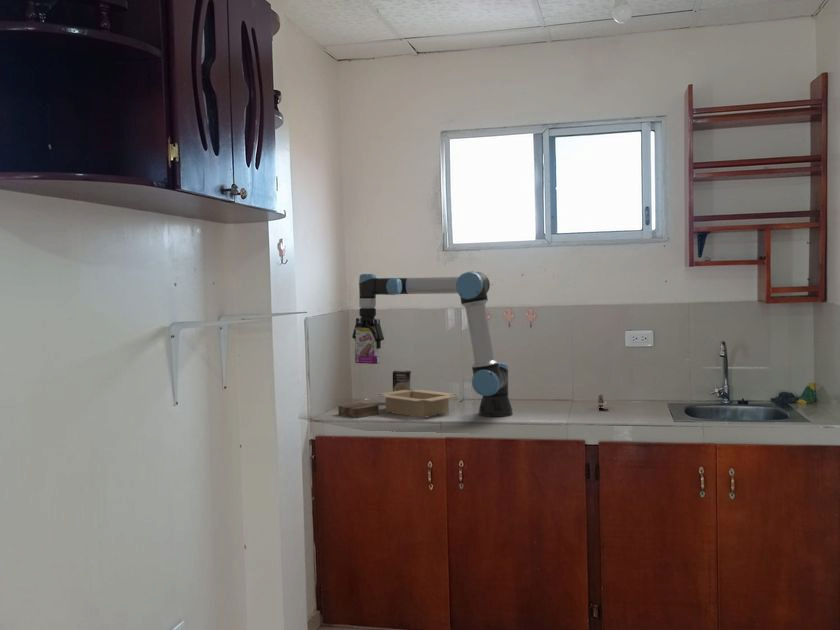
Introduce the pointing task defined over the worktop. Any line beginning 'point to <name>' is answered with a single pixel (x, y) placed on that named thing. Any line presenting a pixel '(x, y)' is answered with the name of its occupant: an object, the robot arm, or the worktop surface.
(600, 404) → the architectural model
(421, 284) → the robot arm
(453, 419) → the worktop surface
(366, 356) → the candy bar box
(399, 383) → the coffee box
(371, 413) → the plinth
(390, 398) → the carton
